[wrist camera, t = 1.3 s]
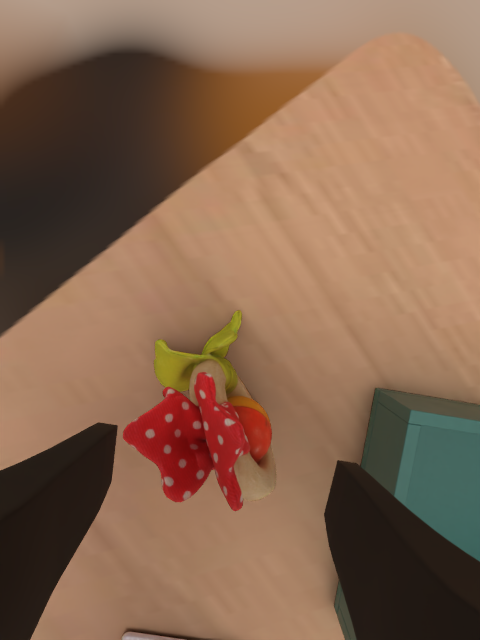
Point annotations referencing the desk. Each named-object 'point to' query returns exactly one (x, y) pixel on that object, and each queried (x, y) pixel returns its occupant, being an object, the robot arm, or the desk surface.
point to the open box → (425, 467)
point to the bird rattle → (206, 425)
